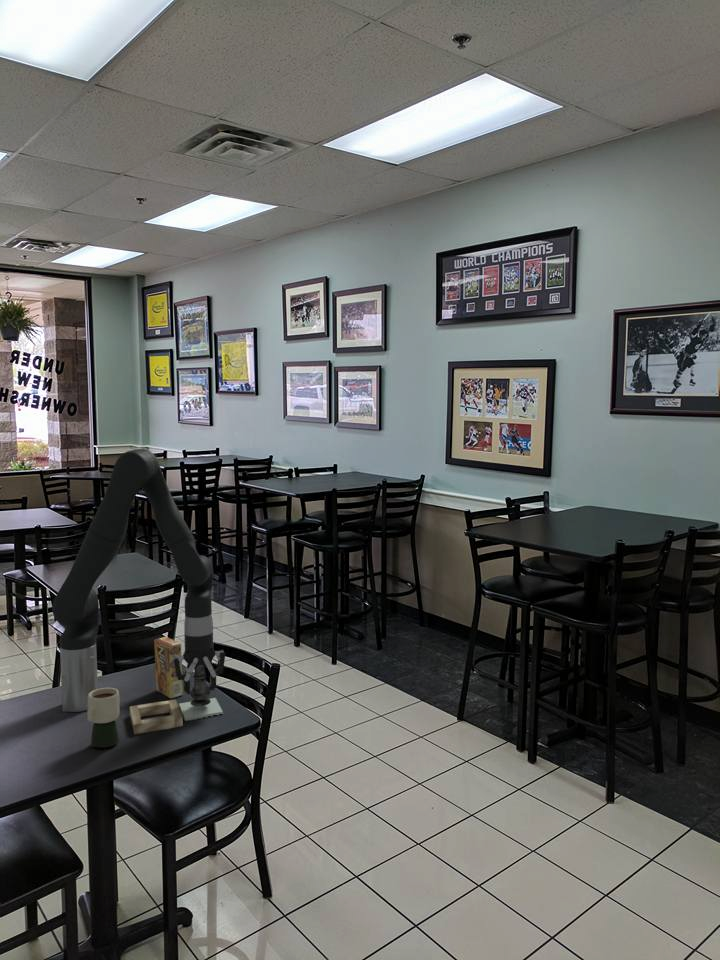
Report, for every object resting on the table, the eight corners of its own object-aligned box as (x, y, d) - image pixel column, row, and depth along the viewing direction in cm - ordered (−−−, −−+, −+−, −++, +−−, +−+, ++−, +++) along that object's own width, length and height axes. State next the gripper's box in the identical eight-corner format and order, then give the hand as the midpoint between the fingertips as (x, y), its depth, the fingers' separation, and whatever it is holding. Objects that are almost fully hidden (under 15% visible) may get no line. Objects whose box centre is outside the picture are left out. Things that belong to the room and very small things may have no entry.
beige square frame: (134, 734, 177) (133, 724, 177) (129, 715, 188) (129, 706, 188) (182, 726, 182) (182, 716, 182) (175, 708, 193) (175, 699, 193)
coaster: (184, 720, 185) (184, 717, 185) (179, 706, 194) (179, 703, 194) (222, 714, 189) (222, 711, 189) (215, 700, 198) (215, 697, 198)
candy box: (183, 695, 202) (182, 643, 201) (170, 699, 199) (168, 646, 198) (168, 686, 208) (166, 636, 207) (154, 690, 205) (153, 639, 204)
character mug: (108, 732, 178) (106, 683, 177) (131, 737, 176) (130, 686, 175) (77, 752, 168) (75, 699, 167) (102, 757, 166) (100, 703, 164)
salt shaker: (206, 707, 188) (205, 663, 187) (185, 705, 189) (184, 662, 188) (215, 698, 194) (214, 656, 192) (195, 697, 195) (194, 654, 194)
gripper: (222, 623, 196) (223, 682, 197) (169, 630, 190) (170, 690, 192) (228, 631, 189) (229, 692, 190) (173, 638, 183) (174, 700, 185)
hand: (200, 691), depth 191 cm, fingers closed on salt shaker, 5 cm apart
